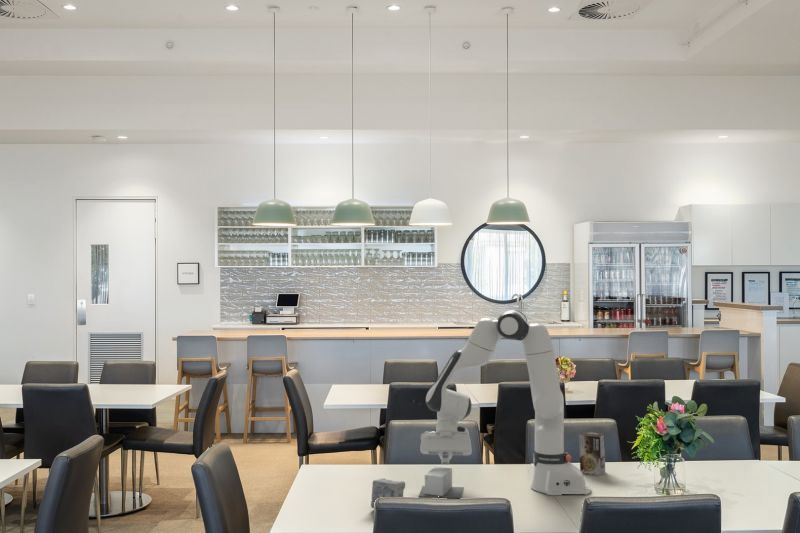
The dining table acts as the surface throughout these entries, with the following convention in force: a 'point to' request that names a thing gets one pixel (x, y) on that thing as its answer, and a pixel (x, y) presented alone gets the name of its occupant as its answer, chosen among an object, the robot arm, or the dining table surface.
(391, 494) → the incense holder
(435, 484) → the supplement box
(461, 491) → the mat
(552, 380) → the robot arm
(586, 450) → the coffee box
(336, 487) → the dining table surface
